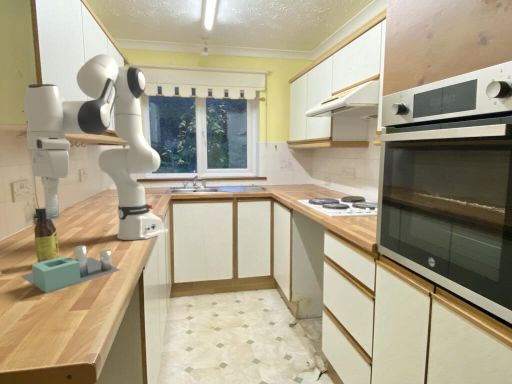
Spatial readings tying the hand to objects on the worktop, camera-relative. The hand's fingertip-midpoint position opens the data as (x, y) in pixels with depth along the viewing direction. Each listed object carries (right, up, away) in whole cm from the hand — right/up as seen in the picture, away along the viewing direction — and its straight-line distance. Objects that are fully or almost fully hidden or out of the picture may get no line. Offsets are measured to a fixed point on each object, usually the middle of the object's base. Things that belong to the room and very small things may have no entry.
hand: (50, 193), depth 90 cm
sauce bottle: (-12, -25, +19) cm, 33 cm away
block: (0, -26, +2) cm, 26 cm away
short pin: (+10, -24, +13) cm, 29 cm away
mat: (0, -25, +10) cm, 27 cm away
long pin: (0, -7, +1) cm, 7 cm away
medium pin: (+5, -25, +8) cm, 27 cm away
